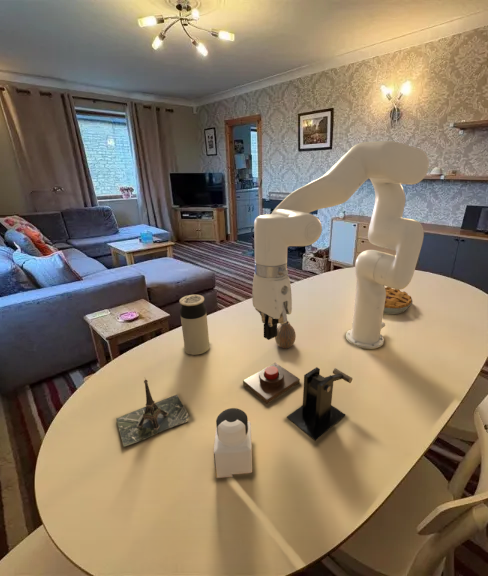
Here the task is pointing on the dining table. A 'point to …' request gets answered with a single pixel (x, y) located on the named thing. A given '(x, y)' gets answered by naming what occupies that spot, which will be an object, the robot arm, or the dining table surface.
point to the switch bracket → (316, 407)
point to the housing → (271, 383)
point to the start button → (271, 372)
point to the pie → (396, 301)
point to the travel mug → (194, 324)
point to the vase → (285, 335)
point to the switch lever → (337, 376)
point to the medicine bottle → (232, 443)
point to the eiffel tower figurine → (151, 418)
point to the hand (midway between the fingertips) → (270, 336)
